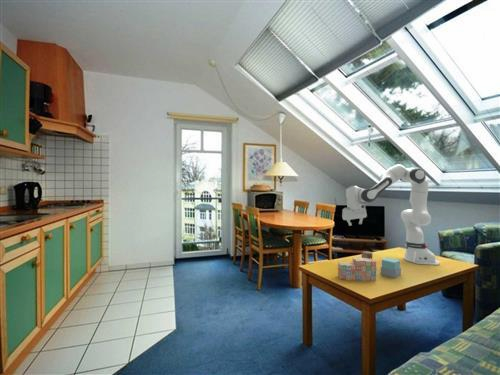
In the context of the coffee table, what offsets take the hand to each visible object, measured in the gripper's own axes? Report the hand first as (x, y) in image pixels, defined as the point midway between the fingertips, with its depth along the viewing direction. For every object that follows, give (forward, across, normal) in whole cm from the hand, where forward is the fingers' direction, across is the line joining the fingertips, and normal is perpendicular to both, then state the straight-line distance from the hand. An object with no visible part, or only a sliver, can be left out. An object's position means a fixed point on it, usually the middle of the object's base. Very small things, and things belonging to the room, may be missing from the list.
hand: (355, 224), depth 193 cm
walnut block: (+29, -3, -10) cm, 31 cm away
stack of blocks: (+29, -26, -27) cm, 47 cm away
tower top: (+26, 0, -29) cm, 39 cm away
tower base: (+31, 0, -28) cm, 42 cm away
